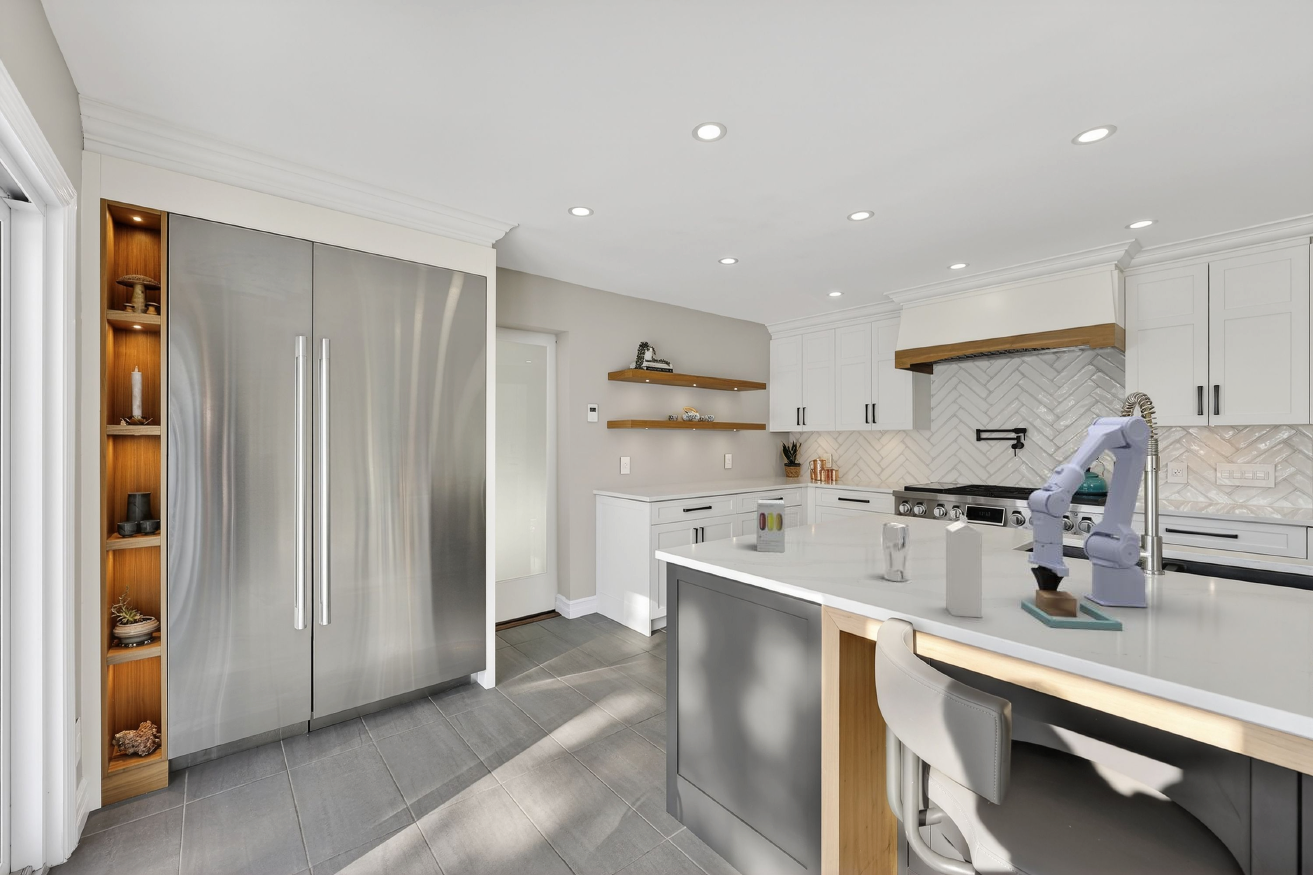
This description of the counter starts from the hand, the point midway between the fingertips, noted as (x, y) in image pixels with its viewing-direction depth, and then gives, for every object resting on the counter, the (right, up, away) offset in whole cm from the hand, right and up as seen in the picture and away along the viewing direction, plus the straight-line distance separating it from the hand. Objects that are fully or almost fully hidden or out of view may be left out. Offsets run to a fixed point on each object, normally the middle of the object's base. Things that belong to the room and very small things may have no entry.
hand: (1047, 599), depth 134 cm
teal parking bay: (-1, -2, -9) cm, 9 cm away
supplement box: (-52, -1, +65) cm, 83 cm away
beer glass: (-25, -2, +25) cm, 35 cm away
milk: (-22, -2, -4) cm, 23 cm away
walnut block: (-1, -2, -4) cm, 5 cm away
